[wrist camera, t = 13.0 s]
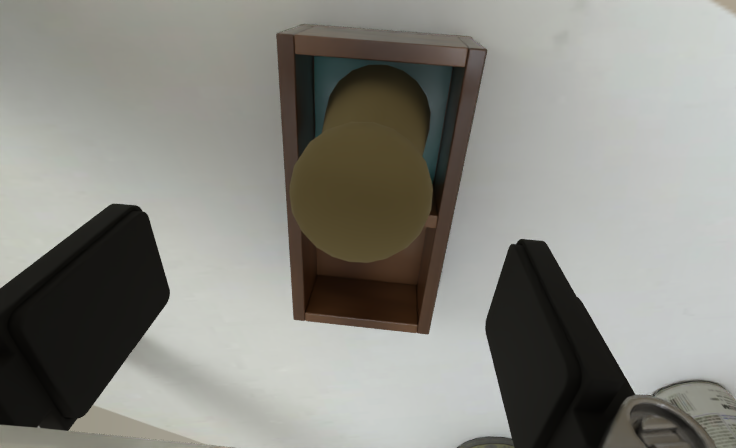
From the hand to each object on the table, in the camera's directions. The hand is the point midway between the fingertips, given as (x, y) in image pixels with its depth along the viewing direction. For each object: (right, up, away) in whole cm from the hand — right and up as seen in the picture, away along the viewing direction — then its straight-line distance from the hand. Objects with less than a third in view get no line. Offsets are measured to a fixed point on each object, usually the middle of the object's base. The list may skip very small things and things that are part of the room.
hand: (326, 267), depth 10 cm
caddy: (+2, +4, +15) cm, 16 cm away
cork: (+2, +7, +12) cm, 14 cm away
